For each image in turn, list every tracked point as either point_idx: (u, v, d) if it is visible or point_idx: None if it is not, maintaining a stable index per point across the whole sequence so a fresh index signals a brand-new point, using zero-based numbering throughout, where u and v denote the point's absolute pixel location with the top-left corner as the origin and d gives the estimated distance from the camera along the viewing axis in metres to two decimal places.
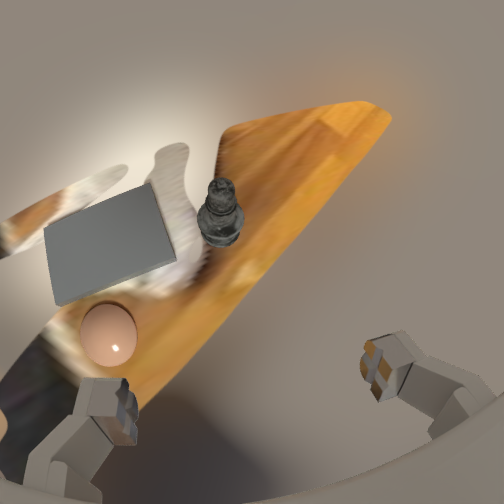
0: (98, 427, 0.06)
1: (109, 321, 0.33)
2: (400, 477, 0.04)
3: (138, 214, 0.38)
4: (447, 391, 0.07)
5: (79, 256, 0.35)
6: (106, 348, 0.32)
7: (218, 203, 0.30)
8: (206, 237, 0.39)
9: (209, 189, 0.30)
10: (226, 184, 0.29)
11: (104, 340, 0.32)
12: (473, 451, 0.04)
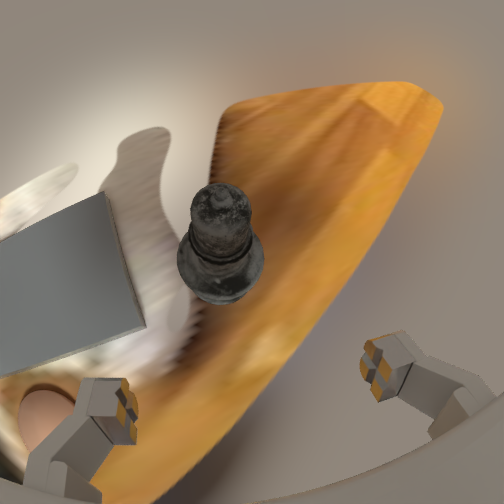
0: (98, 427, 0.06)
1: (52, 417, 0.17)
2: (400, 477, 0.04)
3: (83, 246, 0.21)
4: (447, 391, 0.07)
5: (4, 312, 0.18)
6: None
7: (214, 242, 0.14)
8: None
9: (193, 211, 0.13)
10: (231, 198, 0.13)
11: None
12: (473, 451, 0.04)
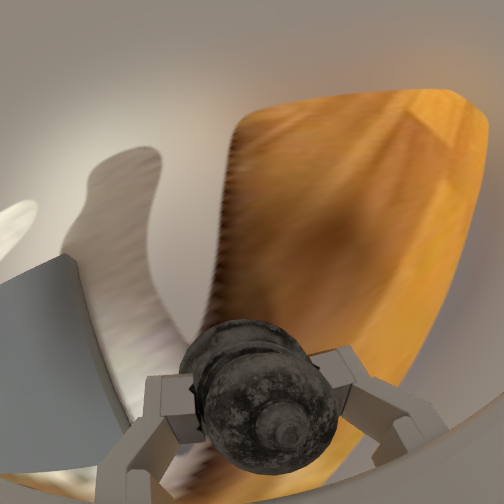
0: (170, 427, 0.07)
1: None
2: (400, 477, 0.04)
3: (43, 338, 0.13)
4: (392, 417, 0.06)
5: None
6: None
7: None
8: None
9: (215, 435, 0.05)
10: (306, 418, 0.05)
11: None
12: (473, 451, 0.04)
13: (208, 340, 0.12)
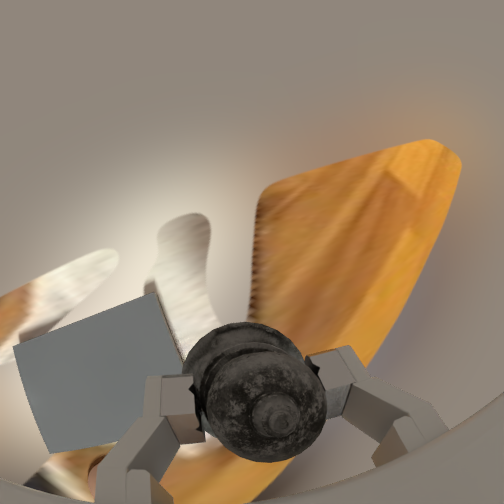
0: (170, 427, 0.07)
1: None
2: (400, 477, 0.04)
3: (141, 346, 0.24)
4: (392, 418, 0.06)
5: (66, 399, 0.21)
6: None
7: None
8: None
9: (216, 426, 0.05)
10: (297, 409, 0.05)
11: None
12: (473, 451, 0.04)
13: (208, 343, 0.13)
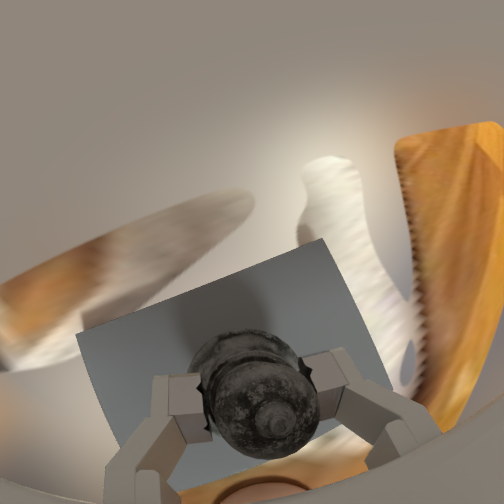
0: (178, 427, 0.07)
1: None
2: (400, 477, 0.04)
3: (315, 311, 0.18)
4: (385, 420, 0.06)
5: None
6: None
7: None
8: None
9: (223, 428, 0.06)
10: (293, 413, 0.06)
11: None
12: (473, 451, 0.04)
13: (211, 348, 0.13)
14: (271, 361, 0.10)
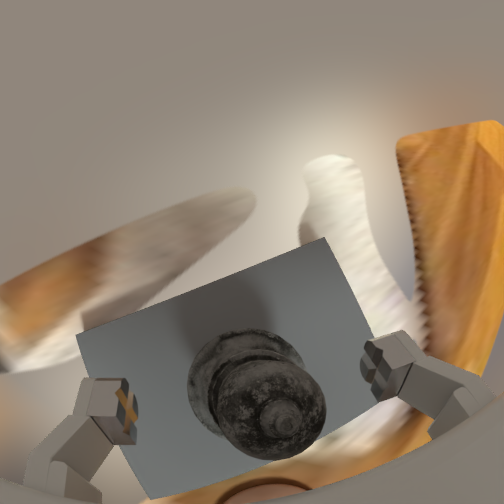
0: (98, 427, 0.06)
1: None
2: (400, 477, 0.04)
3: (318, 311, 0.18)
4: (448, 391, 0.07)
5: (189, 411, 0.15)
6: None
7: None
8: None
9: (227, 429, 0.06)
10: (299, 412, 0.06)
11: None
12: (473, 451, 0.04)
13: (213, 348, 0.13)
14: (275, 360, 0.10)
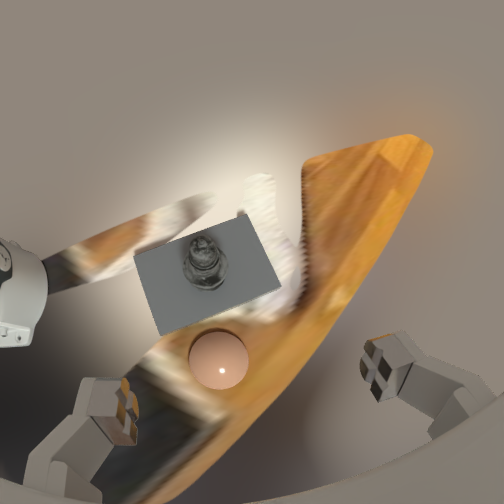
0: (98, 427, 0.06)
1: (220, 347, 0.38)
2: (400, 477, 0.04)
3: (241, 245, 0.42)
4: (447, 391, 0.07)
5: (182, 286, 0.40)
6: (218, 373, 0.37)
7: (200, 261, 0.31)
8: None
9: (191, 248, 0.30)
10: (206, 242, 0.30)
11: (216, 365, 0.37)
12: (473, 451, 0.04)
13: None
14: None
